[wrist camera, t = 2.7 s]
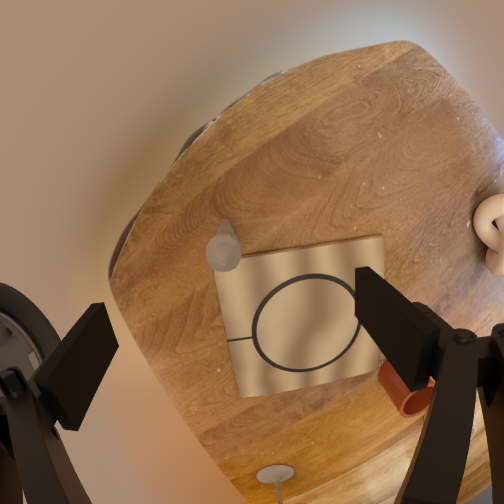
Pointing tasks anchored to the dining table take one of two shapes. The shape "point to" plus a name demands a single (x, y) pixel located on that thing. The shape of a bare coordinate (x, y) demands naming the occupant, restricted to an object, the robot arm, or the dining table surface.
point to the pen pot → (404, 392)
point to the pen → (223, 248)
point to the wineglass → (275, 476)
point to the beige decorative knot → (492, 231)
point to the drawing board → (298, 315)
